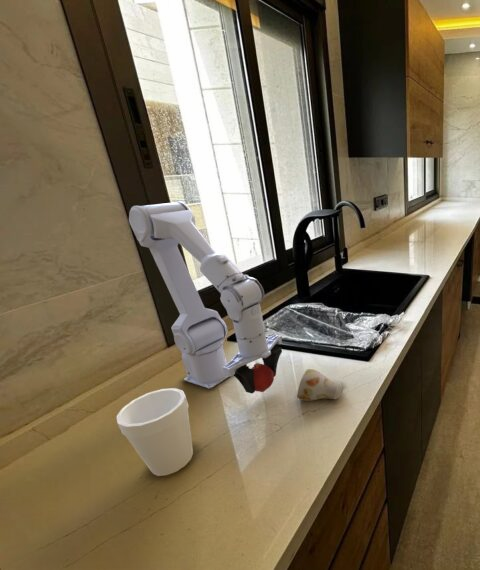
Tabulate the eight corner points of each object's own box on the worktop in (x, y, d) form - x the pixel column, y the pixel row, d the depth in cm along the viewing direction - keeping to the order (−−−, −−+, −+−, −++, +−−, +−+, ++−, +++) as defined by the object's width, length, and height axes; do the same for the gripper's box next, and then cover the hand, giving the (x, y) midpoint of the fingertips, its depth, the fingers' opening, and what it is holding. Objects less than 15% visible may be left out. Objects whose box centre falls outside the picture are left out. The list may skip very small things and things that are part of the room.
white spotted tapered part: (342, 407, 75) (315, 382, 70) (310, 416, 78) (282, 392, 73) (351, 381, 81) (326, 355, 76) (320, 390, 84) (295, 366, 79)
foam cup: (153, 493, 55) (128, 435, 51) (131, 467, 60) (107, 412, 55) (212, 453, 63) (195, 399, 58) (188, 433, 67) (171, 381, 63)
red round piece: (255, 383, 80) (249, 355, 77) (279, 382, 81) (274, 355, 78) (245, 399, 75) (238, 370, 72) (271, 398, 75) (265, 369, 72)
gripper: (236, 353, 64) (248, 408, 69) (288, 321, 77) (296, 369, 82) (210, 346, 67) (224, 400, 72) (265, 316, 79) (274, 363, 84)
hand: (261, 383), depth 77 cm, fingers closed on red round piece, 6 cm apart
